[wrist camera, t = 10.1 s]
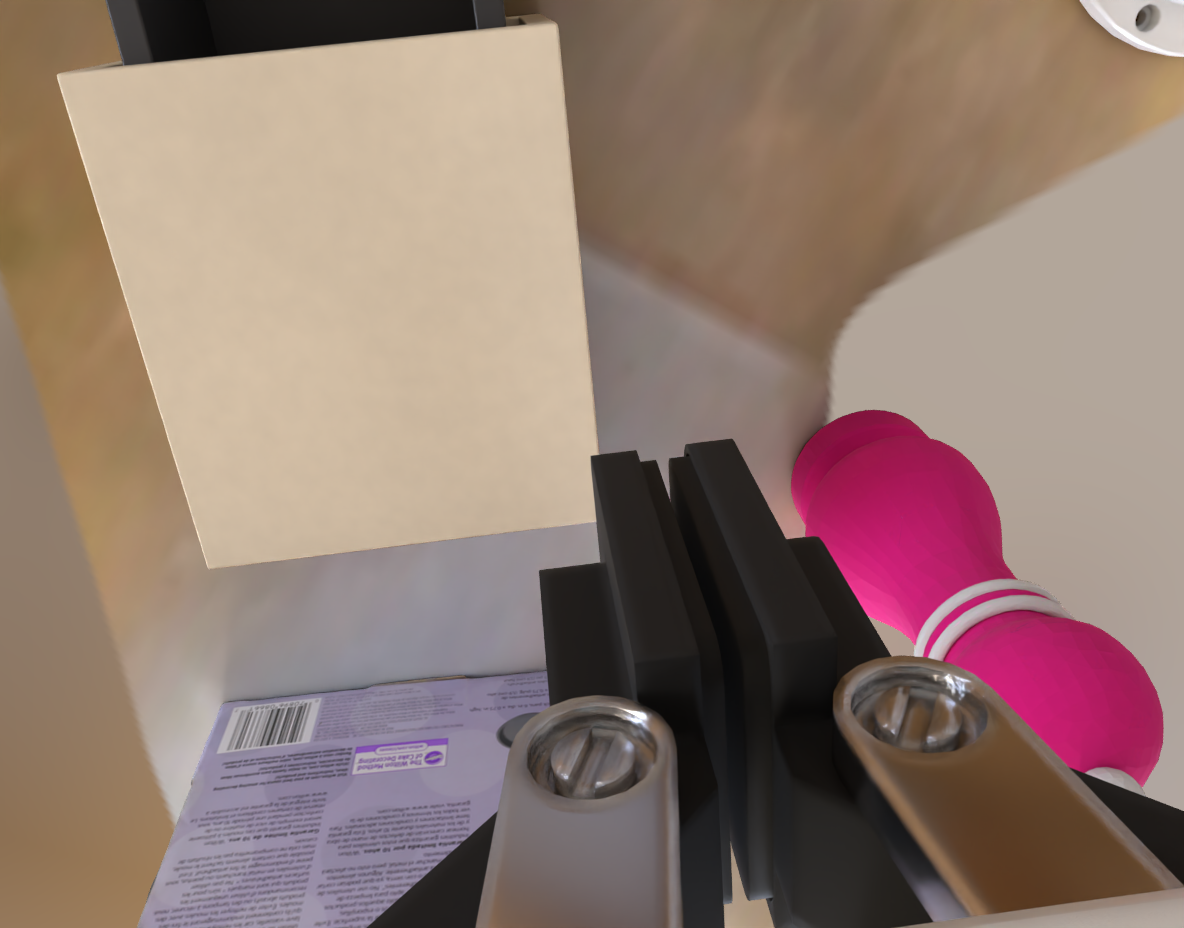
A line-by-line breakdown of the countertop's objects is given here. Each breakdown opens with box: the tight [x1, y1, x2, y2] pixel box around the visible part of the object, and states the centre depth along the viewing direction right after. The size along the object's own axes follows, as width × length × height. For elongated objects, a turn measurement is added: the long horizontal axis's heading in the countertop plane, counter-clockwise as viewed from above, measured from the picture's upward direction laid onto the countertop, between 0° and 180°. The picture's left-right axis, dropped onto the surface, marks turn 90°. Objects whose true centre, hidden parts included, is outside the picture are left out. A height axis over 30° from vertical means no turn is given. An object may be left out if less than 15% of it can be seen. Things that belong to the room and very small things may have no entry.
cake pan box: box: [137, 671, 550, 928], centre depth 38 cm, size 19×5×18 cm, turn 93°
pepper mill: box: [791, 410, 1163, 797], centre depth 34 cm, size 7×7×20 cm
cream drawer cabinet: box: [57, 14, 599, 569], centre depth 32 cm, size 15×13×10 cm
